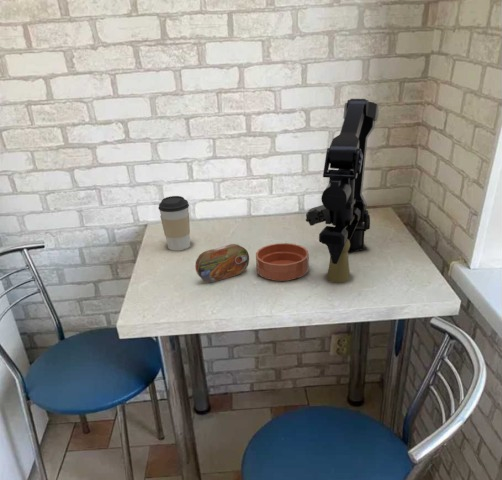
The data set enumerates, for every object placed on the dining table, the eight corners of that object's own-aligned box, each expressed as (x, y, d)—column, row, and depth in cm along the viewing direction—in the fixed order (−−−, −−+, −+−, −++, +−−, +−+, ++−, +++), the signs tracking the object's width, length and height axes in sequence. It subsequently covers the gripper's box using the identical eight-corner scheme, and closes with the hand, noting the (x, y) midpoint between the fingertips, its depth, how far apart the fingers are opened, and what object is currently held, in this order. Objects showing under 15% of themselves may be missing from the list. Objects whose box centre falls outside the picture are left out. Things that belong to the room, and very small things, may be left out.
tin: (200, 285, 140) (196, 256, 136) (195, 281, 143) (192, 252, 138) (250, 271, 146) (249, 243, 141) (245, 267, 148) (243, 239, 144)
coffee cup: (158, 250, 162) (151, 202, 154) (173, 238, 169) (166, 192, 160) (185, 253, 159) (178, 204, 150) (198, 241, 166) (193, 194, 157)
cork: (349, 283, 137) (351, 243, 131) (325, 282, 138) (327, 242, 132) (350, 273, 142) (352, 234, 136) (327, 271, 143) (329, 233, 137)
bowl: (296, 256, 153) (296, 239, 150) (316, 276, 142) (317, 259, 139) (249, 264, 150) (249, 248, 147) (266, 286, 138) (266, 269, 136)
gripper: (320, 183, 139) (318, 239, 147) (298, 207, 124) (298, 267, 133) (362, 186, 135) (359, 243, 143) (345, 211, 120) (342, 273, 129)
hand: (339, 256), depth 137 cm, fingers open, 9 cm apart
